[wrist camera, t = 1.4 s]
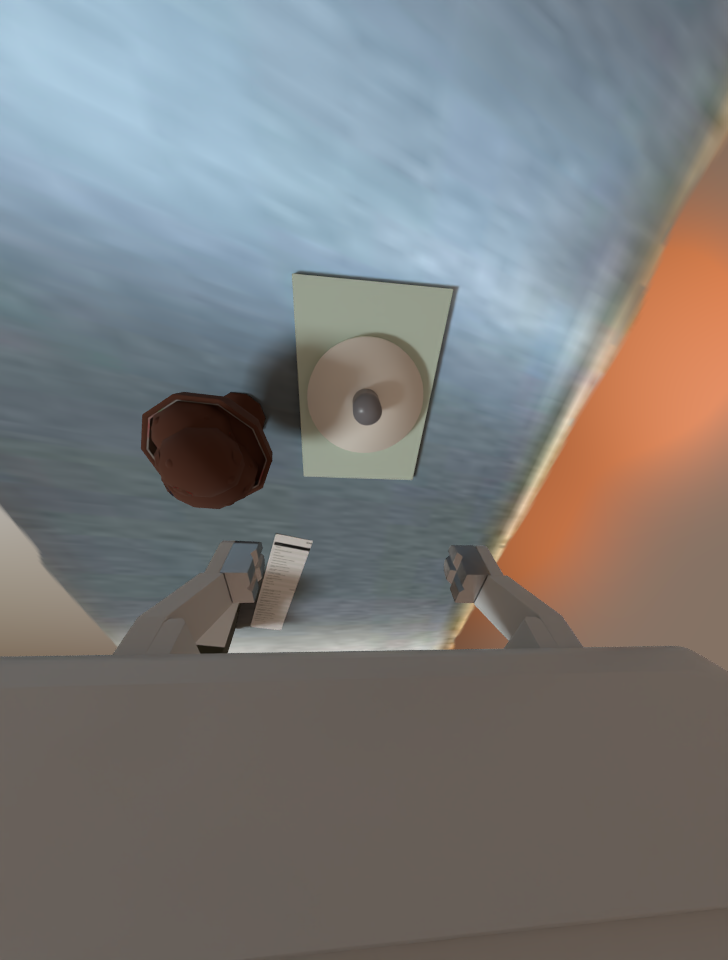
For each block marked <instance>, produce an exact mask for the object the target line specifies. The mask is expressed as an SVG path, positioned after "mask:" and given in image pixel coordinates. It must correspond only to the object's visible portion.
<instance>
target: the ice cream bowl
mask: <svg viewBox="0 0 728 960" xmlns="http://www.w3.org/2000/svg"><path fill="white" fill-rule="evenodd" d="M265 419H266V418H265V415H264V413H263V410H262V408H261V406H260V404H259V403H258V402H256V401H255V400H254V399H252V398H251V397H250V396H248V395H247V394H241V393H232V392H230V393H229V394H227V395H226V396H224V397H223V396H214V395H206V394H197V393H188V392H181V393H176V394H172V395H171V396H169V397H168V398H166V399H165V400H163V401H162V402H160V403H159V404H157V405H156V406H155V407H153V408H152V409H150V410H149V411H147V412H146V413H144V414H143V415H142V438H141V449H142V451H143V452H144V453H145V455H146V456H147V458H148V459H149V460H150V462H151V463H152V464H153V466H154V467H155V468H156V470H157V471H158V472H159V474H160V475H161V479H162V481H163V483H164V485H165V487H166V489H167V491H168V492H169V493H170V494H171V495H173V496H174V497H175V498H177V499H178V500H180V501H182V502H184V503H187V504H189V505H191V506H193V507H198V508H212V509H221V508H223V507H225V506H230V505H232V504H234V502H236V501H238V500H240V499H243V498H245V497H246V496H248V495H250V494H252V493H254V492H256V491H258V490H260V489H262V488H263V485H264V483H265V480H266V477H267V474H268V471H269V468H270V465H271V462H272V451H271V448H270V446H269V443H268V441H267V439H266V436H265V434H264V432H263V425H264V422H265Z"/></svg>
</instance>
